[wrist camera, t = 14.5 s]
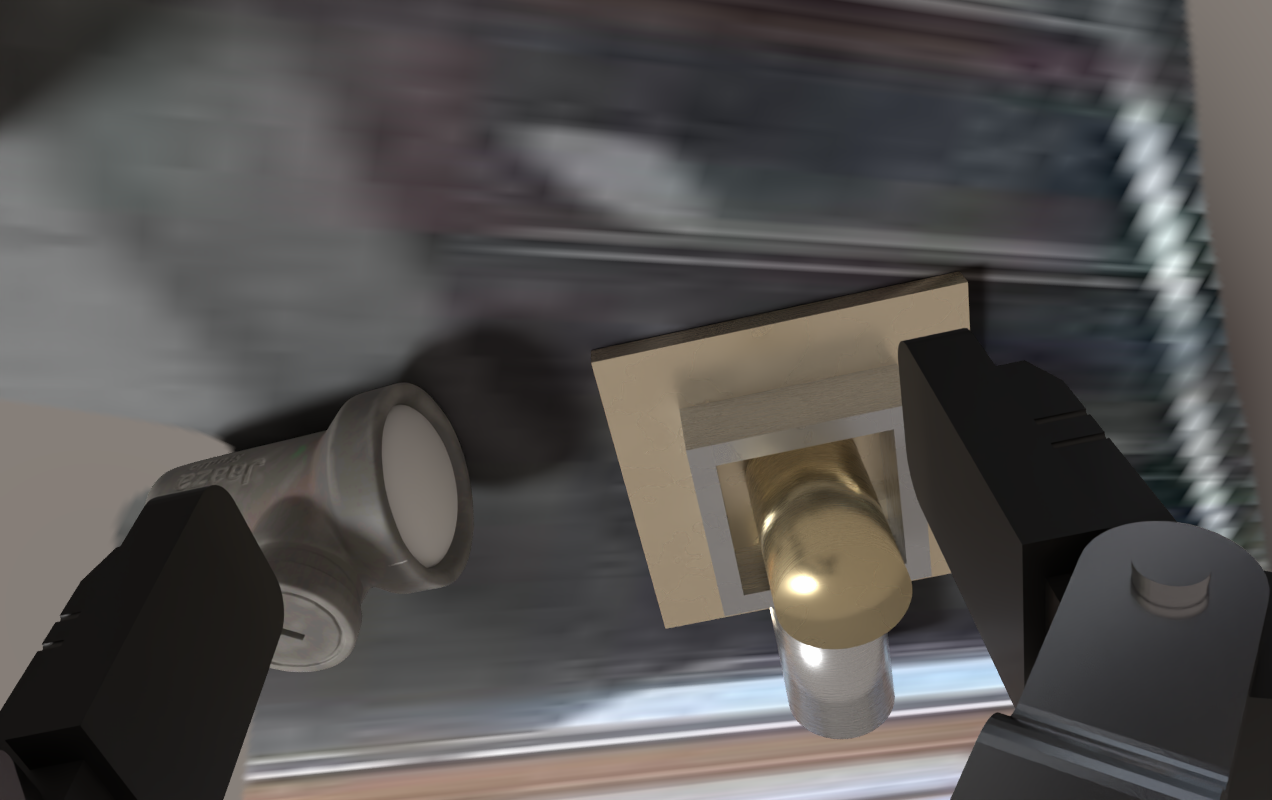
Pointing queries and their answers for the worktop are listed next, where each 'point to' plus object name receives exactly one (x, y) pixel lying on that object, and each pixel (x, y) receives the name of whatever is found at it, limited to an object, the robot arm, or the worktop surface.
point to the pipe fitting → (349, 514)
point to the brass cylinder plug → (827, 546)
